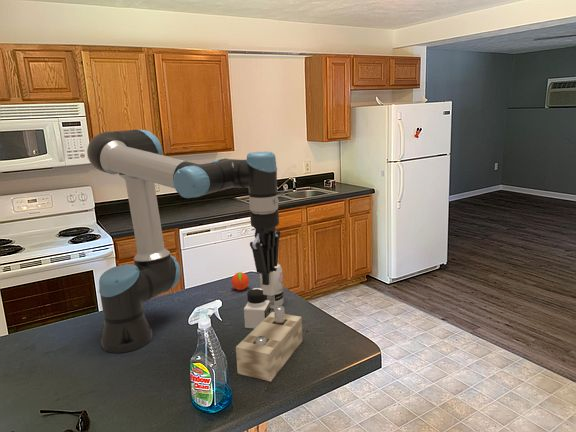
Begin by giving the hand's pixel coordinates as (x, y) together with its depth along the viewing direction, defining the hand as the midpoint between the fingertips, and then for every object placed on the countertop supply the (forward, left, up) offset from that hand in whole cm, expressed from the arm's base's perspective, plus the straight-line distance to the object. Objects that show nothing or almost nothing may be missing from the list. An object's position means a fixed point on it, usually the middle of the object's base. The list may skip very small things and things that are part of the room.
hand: (268, 294), depth 119 cm
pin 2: (0, +7, -15) cm, 16 cm away
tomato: (-33, +40, -20) cm, 55 cm away
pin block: (0, +1, -20) cm, 20 cm away
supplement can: (-15, +32, -20) cm, 40 cm away
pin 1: (0, -5, -18) cm, 19 cm away
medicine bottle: (-13, +17, -20) cm, 29 cm away
